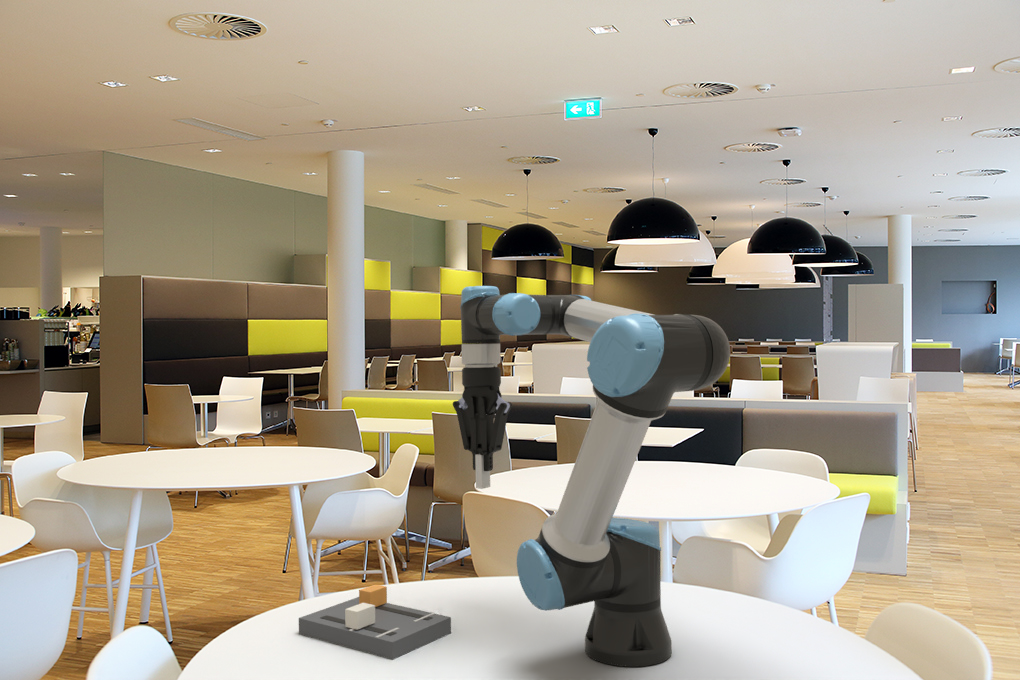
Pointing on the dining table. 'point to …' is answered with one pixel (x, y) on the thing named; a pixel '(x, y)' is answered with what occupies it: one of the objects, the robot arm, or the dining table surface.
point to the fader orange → (373, 595)
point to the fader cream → (360, 616)
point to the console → (377, 629)
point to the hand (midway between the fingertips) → (483, 487)
